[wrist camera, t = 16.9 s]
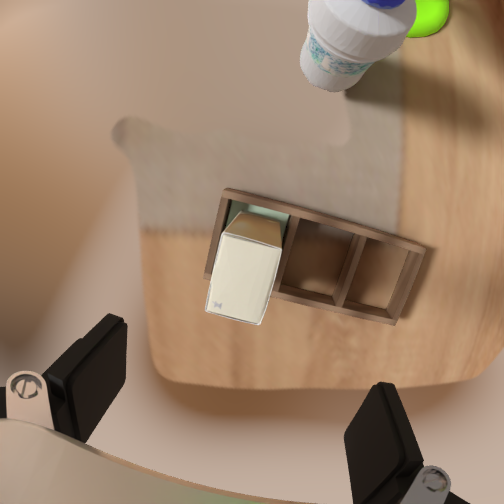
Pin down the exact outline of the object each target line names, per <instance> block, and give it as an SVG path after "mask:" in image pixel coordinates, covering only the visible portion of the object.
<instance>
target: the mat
mask: <svg viewBox="0 0 504 504" xmlns="http://www.w3.org/2000/svg"><path fill="white" fill-rule="evenodd" d="M241 210H246V211H249V212H253V213H257V214H261V215H264V216H268V217H271V218H274V219H278V220H280V230H281V242H282V239H283V235H284V231H285V228H286V224H287V221H288V217H289V214H285V213H282V212H278V211H274V210H270V209H267V208H263V207H259V206H255V205H251V204H247V203H244V202H240V201H236V200H232V204H231V208H230V212H229V216H228V220H227V225H226V228H227V227H228V225H229V224H230V223H231V222H232V221H233V219H234V218H235V217H236V216H237V215H238V213H239V212H240V211H241Z"/></svg>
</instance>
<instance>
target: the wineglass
mask: <svg viewBox="0 0 504 504" xmlns="http://www.w3.org/2000/svg"><path fill="white" fill-rule="evenodd" d="M415 2H416V8H417V15H416V20H415V22H414V24H413V26H412V28H411V29H410V31H409V32H408V34H407V35H406V37H410V38H412V37H425V36H428V35H430V34H433V33H435V32H437V31H438V30H439V29H440V28H441V27H442V26H443V25H444V24H445V22H446V19H447V17H448V14H449V0H415Z"/></svg>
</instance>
